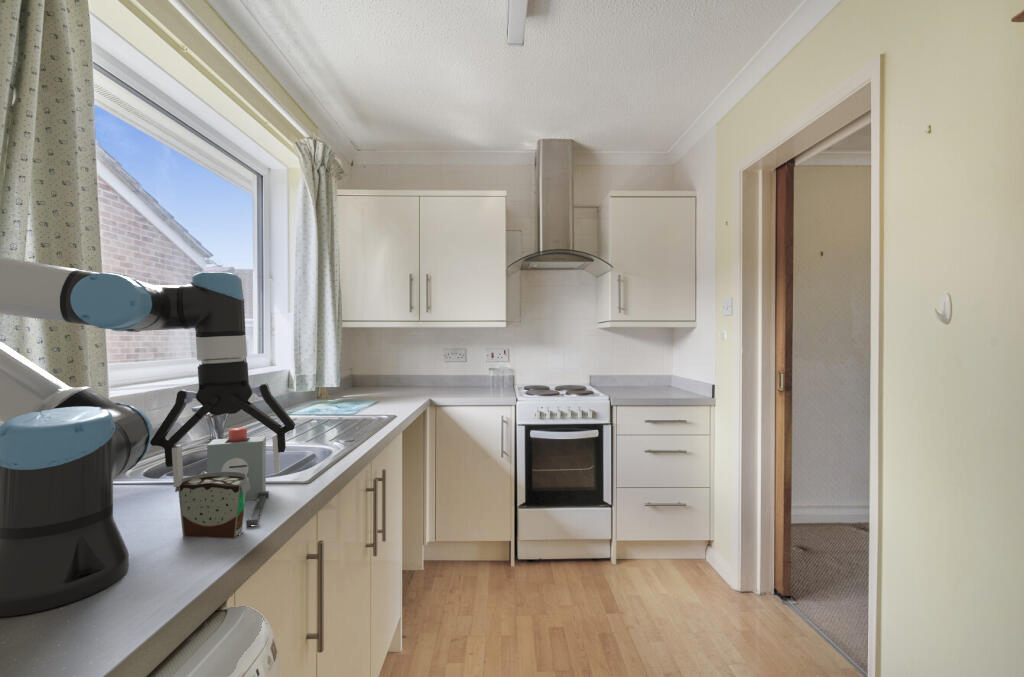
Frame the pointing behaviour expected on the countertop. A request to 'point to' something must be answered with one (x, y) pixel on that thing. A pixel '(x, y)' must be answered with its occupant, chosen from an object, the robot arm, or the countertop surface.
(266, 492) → the guide rail
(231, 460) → the cabinet
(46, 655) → the countertop surface
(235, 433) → the button
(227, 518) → the food container
